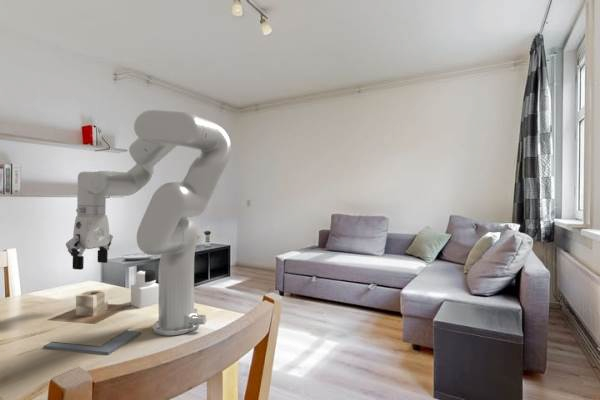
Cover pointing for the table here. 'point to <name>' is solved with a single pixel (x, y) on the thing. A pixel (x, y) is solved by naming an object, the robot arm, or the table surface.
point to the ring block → (91, 303)
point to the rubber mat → (102, 349)
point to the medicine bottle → (145, 289)
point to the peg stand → (72, 316)
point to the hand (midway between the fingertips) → (90, 265)
